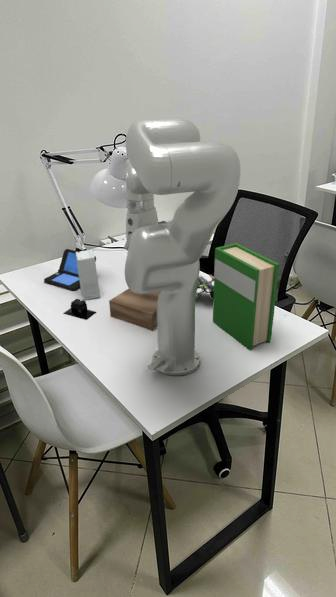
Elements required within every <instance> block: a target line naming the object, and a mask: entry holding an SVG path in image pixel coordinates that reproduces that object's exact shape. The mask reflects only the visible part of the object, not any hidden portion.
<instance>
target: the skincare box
mask: <svg viewBox="0 0 336 597" xmlns="http://www.w3.org/2000/svg"><path fill="white" fill-rule="evenodd" d="M95 256H96V255H95V254H94V251H93V250H92V249H88V250H86V249H85V250H81V251H78V252H76V259H77V266H78V274H79V280H80V287H81V288H80V291H81V295H82V298H83V299H82V300H83V301H86V300H94V299H100V298H101V295H100V294H101V293H100V288H99V279H98V278H99V277H98V272H97V266H96V262H95Z"/></svg>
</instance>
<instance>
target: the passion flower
mask: <svg viewBox="0 0 336 597" xmlns="http://www.w3.org/2000/svg"><path fill="white" fill-rule="evenodd" d="M209 277H210V278H211V281H209V280H207V279H206V278H205V277H204V276H202V275H199V277H198V282H197V287H196V296H195V301H197V300H198V299H199V298H200V296H201V295H202V294H203V293H205V294H209V296H210V297H209V298H211V300H213V299H214V284H212V283H214V275H212V274H210V273H209ZM198 289H201V291H200V292H197V291H198Z"/></svg>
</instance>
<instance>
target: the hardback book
mask: <svg viewBox="0 0 336 597" xmlns="http://www.w3.org/2000/svg"><path fill="white" fill-rule="evenodd" d="M279 269H280V263H278V262H277V261H274V260H272V259H270V258H268V257H266V256H264V255H262V254H260V253H258V252H256V251H254V250H253V249H252V250H251V249H249V248H247V247H246V246H244V245H241V244H239V243H237V242H235V243H231V244H227V245H224V246H223V245H222V246H218V247H215V249H214V272H213V277H214V281H213V286H214V299H212V301H213V303H212V304H213V306H212V307H213V308H212V323H213V324H214V325H216V326H217V327H218V328H220V329H221V330H222V331H224V332H225V333H226V334H228V335H229V336H230V337H232V338H233V340H235V341H236V342H238V343H239V344H240V345H242V346H243V347H244V348H245V347H246V348H245V349H247V350H248V351H249V352H250V351H253V349H254V348H253V347H254V346H256V345H259V344H262V343H266V344H268V345H269V344H271V343H272V342H271V341H272V335H273V325H274V324H273V323H274V316H275V309H276V308H275V307H276V297H277V291H278V290H277V289H278V281H279V279H278V278H279Z"/></svg>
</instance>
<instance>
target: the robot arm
mask: <svg viewBox="0 0 336 597" xmlns="http://www.w3.org/2000/svg"><path fill="white" fill-rule="evenodd" d="M125 152H126V155H127V159H126V161H125V163H124V172H125V175H124V182H125V187H126V188H125V189H126V190H125V191H126V192H125V193H126V204H127V205H126V209H127V210H126V216H125V217H126V218H125V237H126V239H125V240H126V241H125V244H124V246H123V249H125V250H126V251H127V252H126V253H127V254H126V259H125V264H124V279H125V283H126V286H127V289H130V290H131V291H132V292H133V293H136V294H147V293H153V292H159V291H161V292H160V295H159V297H158V300H157V306H156V307H157V328H156V331H157V334H156V335H157V350H156V351H155V352H154V353H153V356H152V362H150V364H148V365H147V370H148V371H150V372H151V373H153V372H154V371H156V370H157V371H158V372H159V373H162V374H164V375H168V376H177V377H178V376H185V375H188V374H191V373H193V372H195V371H196V370H197V369H198V368H199V366H200V364H201V355H200V353H199V352H198V350H196V349H195V347H196V345H195V342H196V341H195V339H196V334H195V333H196V300H195V296H196V287H197V282H198V277H199V276H200V272H201V271H200V270H201V269H200V268H201V267H200V266H201V265H200V258H202V256H203V254H204V252H205V251H206V249H207V247H208V244H209V242H210V241H211V239H212V237H213V234H214V232H215V231H216V229H217V227H218V225H219V224H220V223H221V221H223V219H224V218H225V216H226V215H227V213H228V212H229V211H230V210H231V208H232V206H233V204H234V203H235V200H236V197H237V195H238V191H239V187H240V183H241V162H240V157H239V155H238V153H237V150H235V148H233V147H232V146H230V145H228V143H227V144H226V143H223V142H217V141H209V140H208V141H201V134H200V131H199V129H198V127H197V126H196V125H195V123H194V122H192V121H191V120H189V119H186V118H182V117H167V118H166V117H165V118H164V117H163V118H153V119H152V118H148V119H146V118H145V119H138V120H135V122H132V124H130V126H129V128H128V129H127V132H126V136H125ZM183 193H191V194H190V195H189V196H188V197H186V198H185V199H184V200H183V201H182V202H181V203H180V204H179V205H178V207H177V208H176V210H175V212H174V214H173V218H172V220H171V221H169V222H167V223H163V224H158V222H159V218H158V217H159V216H158V212H157V208H156V206H155V199H154V198H155V195H156V196H157V195H158V196H167V195H172V194H173V195H174V194H183Z"/></svg>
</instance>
